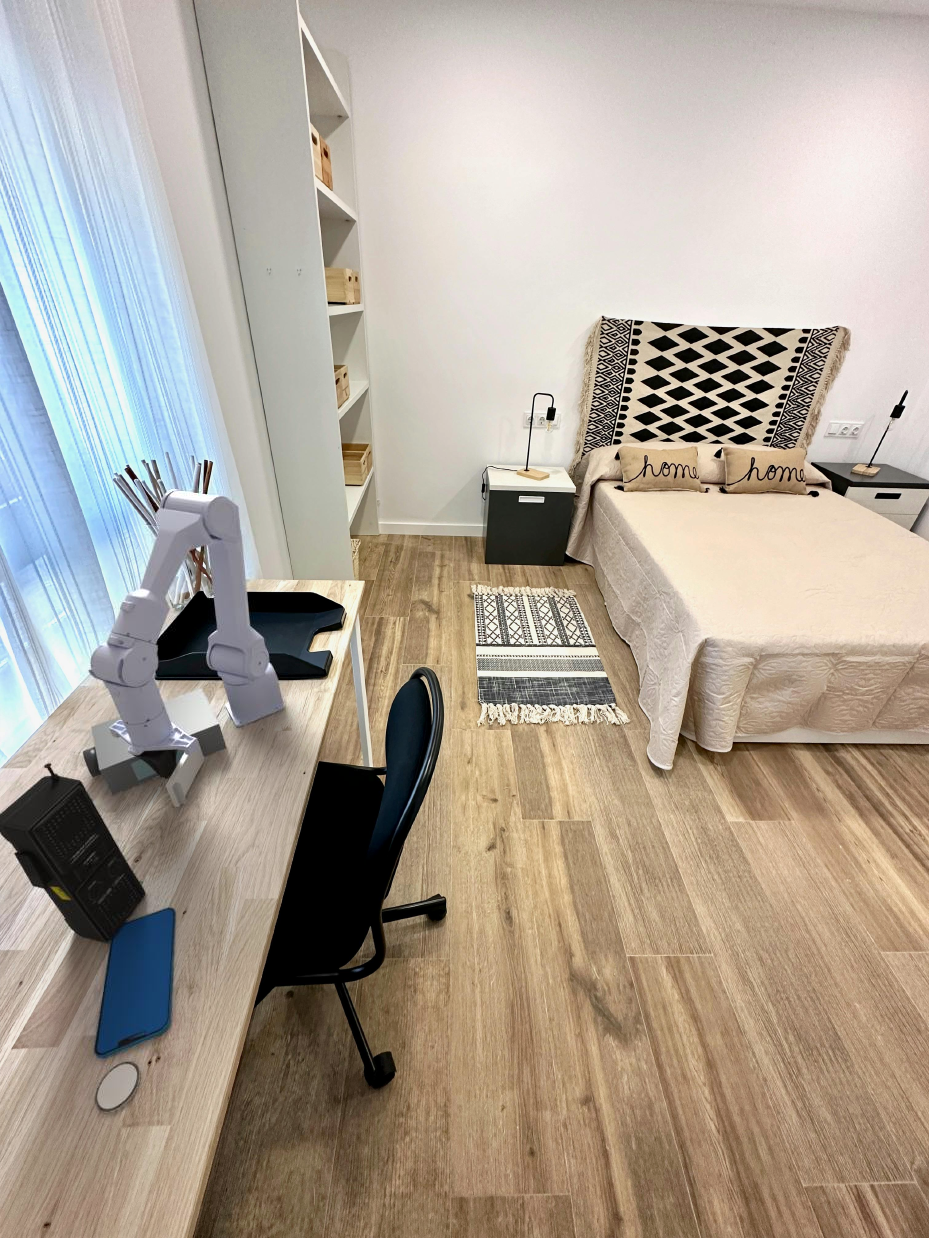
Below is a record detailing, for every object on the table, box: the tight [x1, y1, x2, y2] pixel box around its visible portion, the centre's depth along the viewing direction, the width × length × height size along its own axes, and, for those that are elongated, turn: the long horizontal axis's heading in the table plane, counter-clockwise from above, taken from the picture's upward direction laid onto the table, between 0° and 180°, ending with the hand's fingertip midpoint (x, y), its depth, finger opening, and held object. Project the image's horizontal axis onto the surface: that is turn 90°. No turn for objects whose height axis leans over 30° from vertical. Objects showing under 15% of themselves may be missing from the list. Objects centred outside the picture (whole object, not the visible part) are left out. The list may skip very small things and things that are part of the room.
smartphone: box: [93, 907, 177, 1060], centre depth 61 cm, size 7×1×15 cm
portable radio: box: [0, 762, 147, 944], centre depth 61 cm, size 8×6×25 cm
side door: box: [165, 739, 205, 808], centre depth 84 cm, size 10×2×5 cm, turn 2°
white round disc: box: [94, 1061, 142, 1114], centre depth 53 cm, size 4×4×1 cm
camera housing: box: [82, 687, 227, 796], centre depth 90 cm, size 20×12×6 cm, turn 127°
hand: (168, 773), depth 84 cm, fingers closed
